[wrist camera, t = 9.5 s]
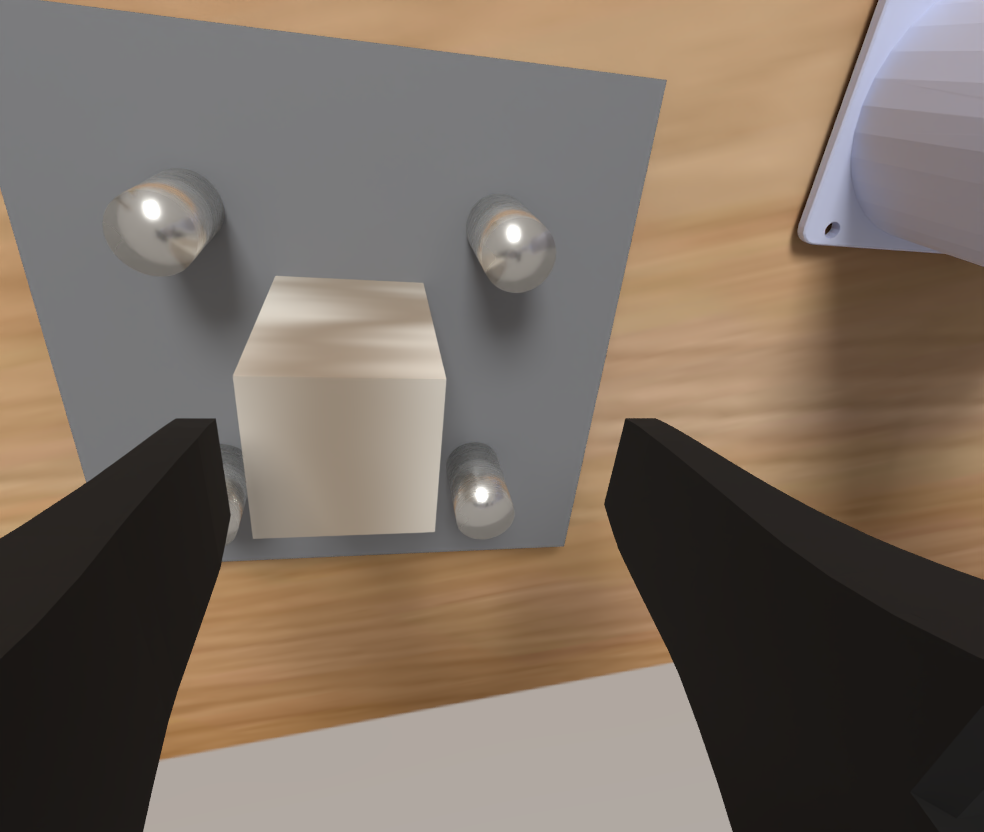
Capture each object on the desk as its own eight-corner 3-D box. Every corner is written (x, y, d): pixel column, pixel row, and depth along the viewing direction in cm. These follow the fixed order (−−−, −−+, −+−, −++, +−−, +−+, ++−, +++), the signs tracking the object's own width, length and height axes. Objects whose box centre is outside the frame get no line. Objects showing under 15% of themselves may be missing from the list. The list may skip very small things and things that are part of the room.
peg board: (648, 78, 16) (720, 84, 13) (555, 525, 24) (585, 601, 21) (-26, -7, 13) (-162, -29, 10) (123, 542, 21) (76, 634, 18)
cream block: (423, 282, 17) (446, 379, 12) (417, 405, 19) (435, 532, 14) (275, 275, 16) (233, 376, 11) (285, 404, 18) (252, 538, 13)
